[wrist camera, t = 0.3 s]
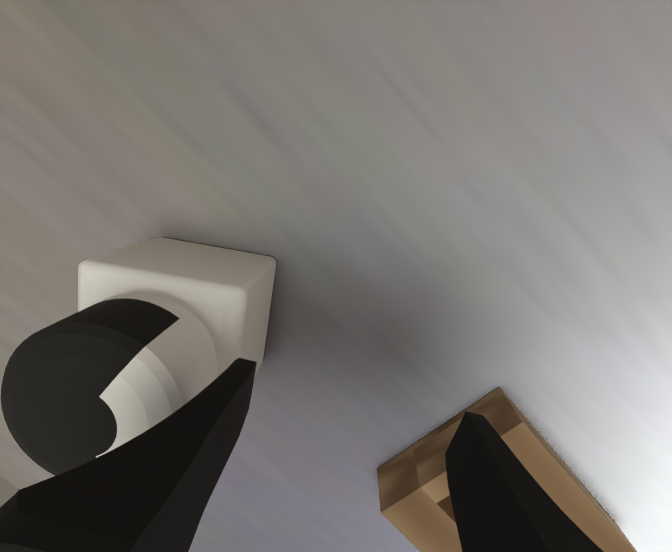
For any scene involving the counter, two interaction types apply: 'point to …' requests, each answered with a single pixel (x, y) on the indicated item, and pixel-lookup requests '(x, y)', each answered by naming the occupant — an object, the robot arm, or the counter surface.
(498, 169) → the counter surface
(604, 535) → the hole block
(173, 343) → the medicine bottle
